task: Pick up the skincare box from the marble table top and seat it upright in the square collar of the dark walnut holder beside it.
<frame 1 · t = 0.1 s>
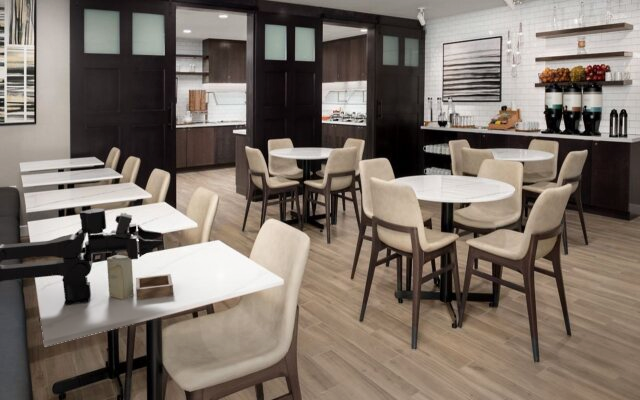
hand: (162, 238, 162), 17 cm above the table, tool horizontal, fingers open, 9 cm apart
walnut holder: (154, 291, 163), on the table
skincare box: (122, 296, 160), on the table
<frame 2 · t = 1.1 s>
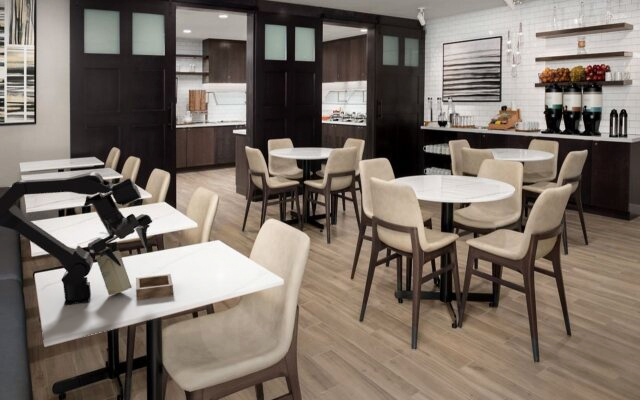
hand: (134, 257, 159), 12 cm above the table, tool tilted 25°, fingers open, 9 cm apart
skincare box: (121, 292, 160), point 1 cm above the table
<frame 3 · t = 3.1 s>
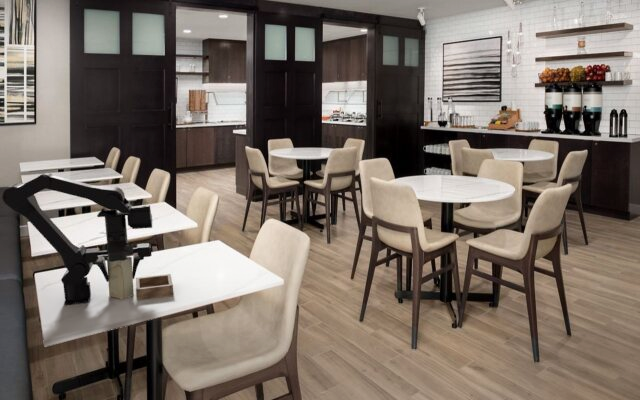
hand: (120, 279, 159), 5 cm above the table, tool pointing down, fingers closed on skincare box, 7 cm apart
skincare box: (122, 296, 160), on the table, touching gripper
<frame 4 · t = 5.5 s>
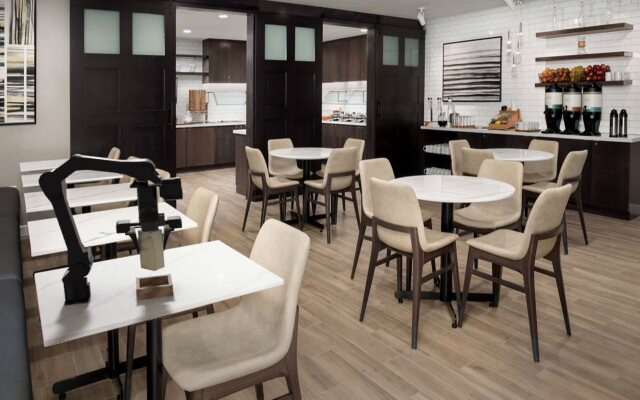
hand: (151, 251, 161), 13 cm above the table, tool pointing down, fingers closed on skincare box, 7 cm apart
skincare box: (153, 268, 162), point 8 cm above the table, touching gripper
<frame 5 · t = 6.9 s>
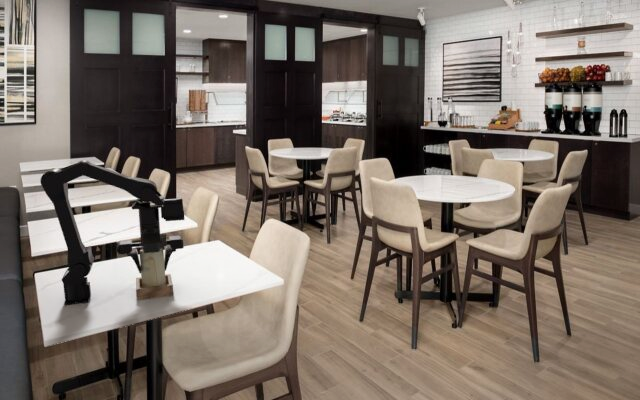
hand: (152, 271, 162), 7 cm above the table, tool pointing down, fingers closed on skincare box, 7 cm apart
skincare box: (154, 287, 163), point 1 cm above the table, touching gripper
when the fingers open (6 cm above the table, at t = 7.8 s): skincare box stays where it is, resting on walnut holder.
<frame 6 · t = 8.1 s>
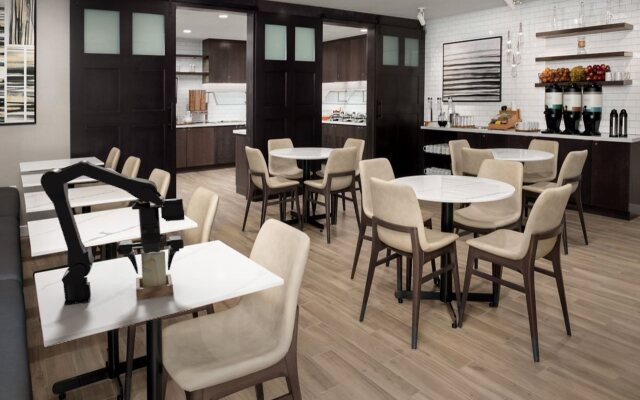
hand: (153, 271, 162), 6 cm above the table, tool pointing down, fingers open, 9 cm apart
skincare box: (155, 289, 163), point 1 cm above the table, touching walnut holder
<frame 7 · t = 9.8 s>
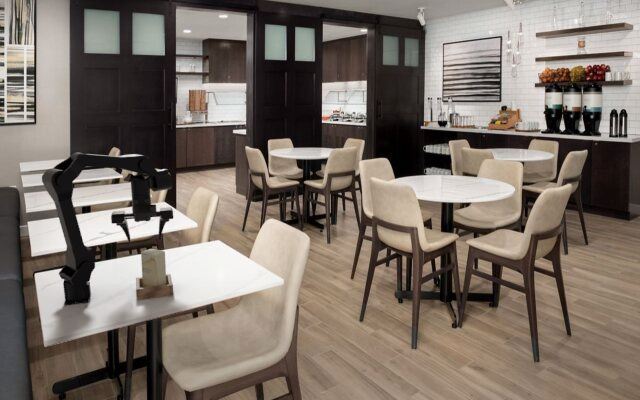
hand: (144, 240, 171), 13 cm above the table, tool pointing down, fingers open, 9 cm apart
nothing on the table moved.
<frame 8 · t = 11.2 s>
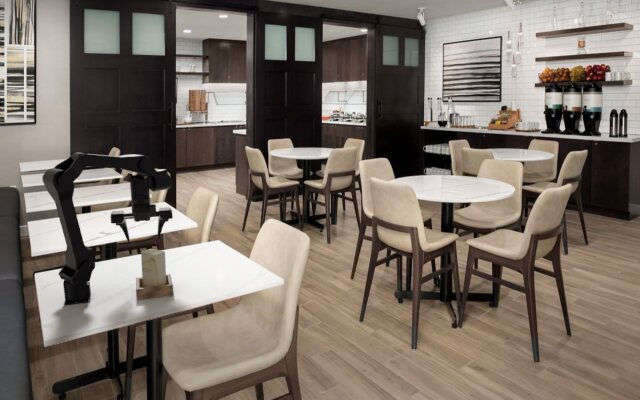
hand: (143, 240, 172), 13 cm above the table, tool pointing down, fingers open, 9 cm apart
nothing on the table moved.
at the end: skincare box 0.2 cm off-centre on the walnut holder, point 0.6 cm above the walnut holder's base; skincare box tilted 0°; the gripper is holding nothing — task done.
